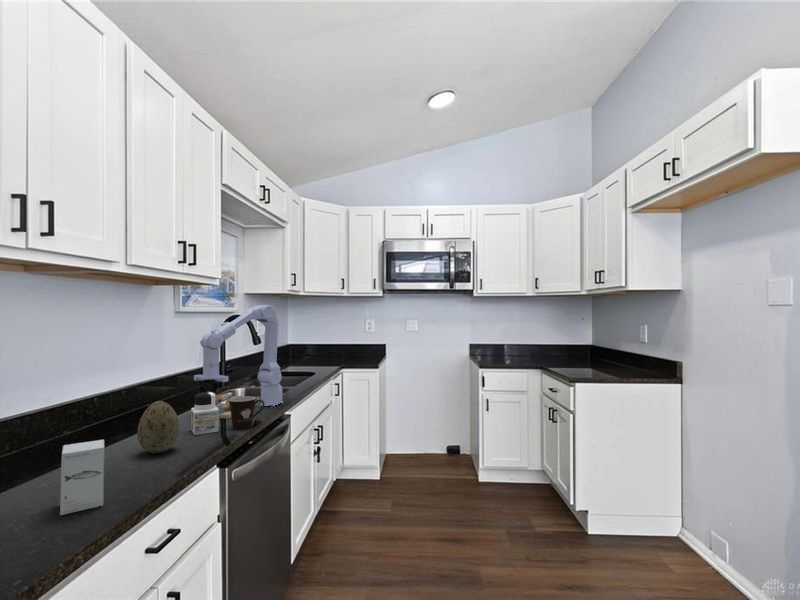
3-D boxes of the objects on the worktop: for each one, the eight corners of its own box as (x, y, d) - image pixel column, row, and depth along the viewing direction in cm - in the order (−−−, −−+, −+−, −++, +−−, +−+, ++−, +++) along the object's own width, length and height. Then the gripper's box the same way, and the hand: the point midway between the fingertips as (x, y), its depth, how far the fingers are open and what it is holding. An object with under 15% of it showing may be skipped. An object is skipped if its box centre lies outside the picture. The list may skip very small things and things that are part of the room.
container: (194, 435, 139) (194, 396, 140) (190, 430, 146) (191, 392, 146) (219, 431, 144) (219, 393, 144) (214, 426, 150) (215, 390, 150)
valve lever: (229, 395, 172) (229, 391, 172) (233, 395, 171) (233, 392, 171) (207, 401, 160) (207, 398, 160) (211, 401, 159) (211, 398, 159)
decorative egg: (138, 461, 115) (139, 406, 116) (135, 451, 124) (136, 400, 124) (182, 453, 122) (182, 401, 122) (176, 444, 130) (176, 395, 131)
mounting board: (226, 407, 180) (226, 404, 180) (252, 409, 176) (252, 406, 176) (198, 416, 164) (198, 413, 164) (226, 418, 161) (226, 415, 161)
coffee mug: (227, 431, 144) (227, 402, 144) (230, 425, 152) (230, 397, 152) (263, 428, 147) (263, 400, 147) (264, 422, 155) (264, 395, 155)
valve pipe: (236, 405, 178) (236, 392, 178) (245, 406, 177) (245, 393, 177) (211, 414, 163) (211, 400, 164) (220, 414, 162) (220, 400, 162)
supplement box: (59, 517, 85) (60, 453, 85) (61, 503, 91) (62, 444, 91) (104, 506, 89) (104, 446, 89) (103, 494, 95) (104, 438, 95)
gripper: (188, 365, 162) (187, 400, 161) (219, 366, 157) (219, 402, 157) (201, 362, 168) (201, 396, 168) (232, 364, 164) (232, 399, 164)
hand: (210, 399), depth 163 cm, fingers closed
